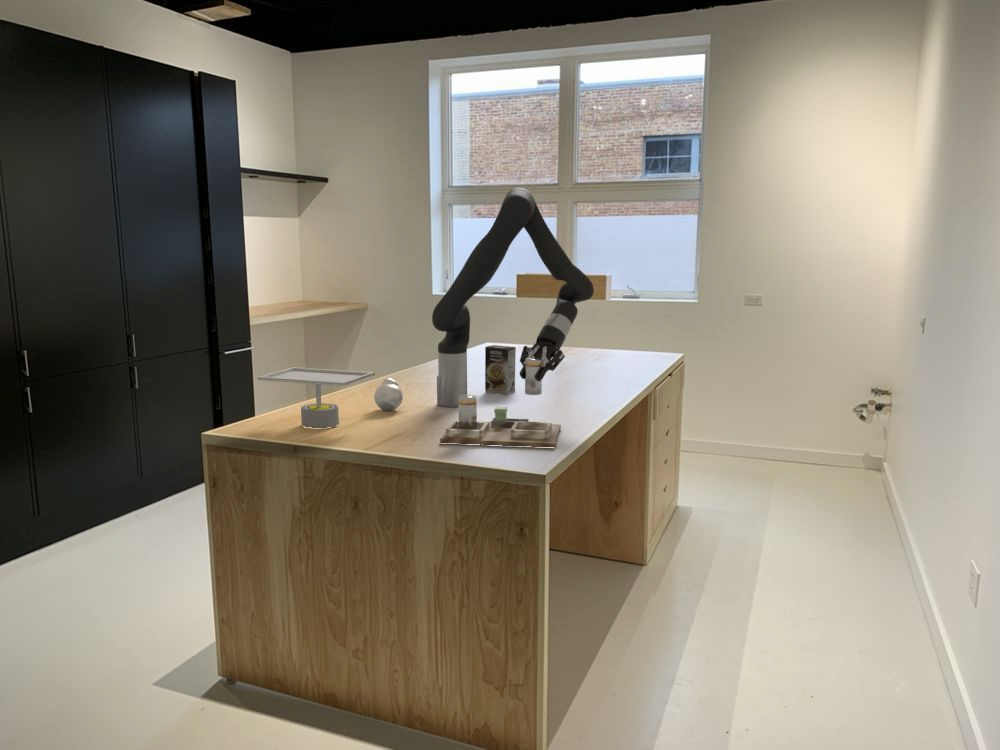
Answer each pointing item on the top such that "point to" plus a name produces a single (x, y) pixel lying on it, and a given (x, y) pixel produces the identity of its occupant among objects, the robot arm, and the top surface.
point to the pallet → (505, 433)
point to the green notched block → (500, 413)
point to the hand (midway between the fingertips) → (529, 378)
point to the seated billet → (468, 412)
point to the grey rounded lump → (388, 395)
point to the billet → (532, 376)
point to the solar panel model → (318, 391)
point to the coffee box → (500, 369)
